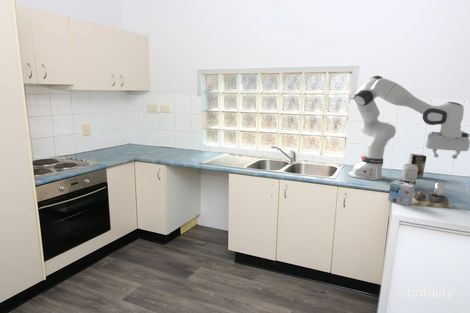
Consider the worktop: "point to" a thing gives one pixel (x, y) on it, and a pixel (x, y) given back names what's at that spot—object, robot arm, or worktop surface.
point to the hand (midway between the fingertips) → (445, 157)
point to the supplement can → (409, 174)
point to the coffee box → (418, 163)
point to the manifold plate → (430, 200)
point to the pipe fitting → (439, 190)
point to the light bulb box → (401, 192)
